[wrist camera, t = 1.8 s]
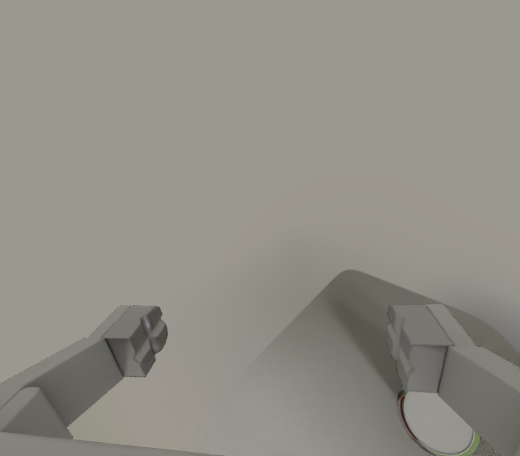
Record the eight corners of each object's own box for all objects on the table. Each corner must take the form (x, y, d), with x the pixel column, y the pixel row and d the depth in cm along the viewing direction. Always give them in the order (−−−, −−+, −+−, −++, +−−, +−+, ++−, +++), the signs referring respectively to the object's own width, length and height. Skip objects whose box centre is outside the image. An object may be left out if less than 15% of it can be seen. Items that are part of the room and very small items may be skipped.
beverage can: (399, 373, 33) (371, 370, 25) (469, 374, 29) (461, 372, 21) (413, 434, 30) (385, 454, 22) (492, 444, 26) (495, 474, 18)
